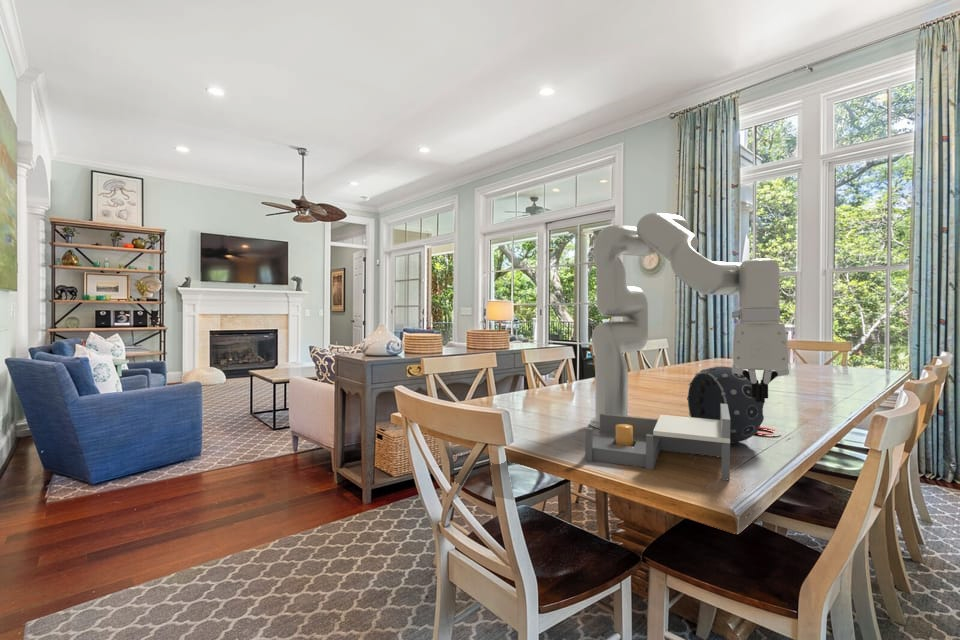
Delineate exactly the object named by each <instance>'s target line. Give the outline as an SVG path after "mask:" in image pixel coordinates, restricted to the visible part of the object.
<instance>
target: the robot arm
mask: <svg viewBox="0 0 960 640" xmlns="http://www.w3.org/2000/svg"><path fill="white" fill-rule="evenodd" d="M698 246H699V239H698V237H697V236H696V235H695V234H694V233H693V232H691V231H690V226H689V223H688V221H687V220H686V219H685V218H684V217H682V216H680V215H677V214H673V213H664V212H663V213H662V212H649V213H647V214H645V215H644V216H642V217H641V218H640V219H639V221H638V222H637V224H636V226H635V225H634V226H633V225H627V224H626V225H625V224H624V225H623V224H613V225H609V226H605V227H604V228H603V229H602V230H601V231H599V233H598V234H597V236H596V238H595V240H594V245H593V257H594V263H595V271H596V308H597V311H598V313H599V314H600V315H601V316H603V317H608V318H622V320H621V321H619V320H617V321H616V320H615V321H604V322H601V323H598V324H597V325H596V326H595V327H594V328H593V330H592V333H591V343H592V347H593V352H594V362H595V364H594V365H595V368H594V369H595V370H594V371H595V372H594V373H595V376H594V377H595V378H594V379H595V384H594V385H595V391H594V392H595V400H594V401H595V403H594V404H595V411H594V412H595V415H594V416H595V417H594V418H591V419H590V421H589V424H590V426H591V427H592V428H596V429H599V430H600V414H609V415H619V416H629V368H628V362H627V361H626V359H625V357H624V354H623V353H634V352H639V351H641V350H643V349H644V348H645V346H646V345H647V343H648V337H649V311H648V310H649V305H648V304H649V303H648V298H647V295H646V293H645V292H644V290H643V289H641V288H640V287H637V286H636V285H635V286H634V285H627V281H626V278H627V277H626V276H627V274H626V272H627V271H626V268H625V265H624V263H623V261H622V259H621V258H620V257H621V256H632V257H633V256H637V257H645V256H646V257H647V256H651V255H654V254H658V253H659V254H660V256H663V258H666V259H667V260H668V261H669V262H670V266H671V269H672V271H673V273H674V275H675V276H676V277H677V278H678V279H679V280H680V281H681V282H683V283H684V284H686V285H687V286H688V287H689V288H691V289H692V290H694V291H696V292H698V293H700V294H703V295H706V296H707V295H708V296H713V295H714V296H719V295H720V296H737V295H738V306H739V307H738V308H739V309H738V310H736V311H732V312H731V319H737V320H739V323H737V322H736V323H735V325H734V332H733V340H732V366H731V368H732V372H733V373H735V374H739V375H743V376H745V377H746V378H747V379H748V380H749V381H750V382H751V383H752V398H755V401H756V402H760V401H761V402H762V403H764V404H765V403H766V399H769V385H770V383H771V382H772V381H774V380H775V379H776V378H777V377H783V376H784V377H785V376H788V375H789V374H790V369H789V347H788V345H789V344H788V335H787V331H786V325H785V323H784V322H780V319H781V317H780V314H781V312H780V265H779V262H778V260H777V259H773V258H755V259H753V258H752V259H748V260H743V261H742V262H727V261H715V260H714V261H712V260H711V259H708V258H706V257H705V256H703V254H700V253H699V252H698V251H697V249H698ZM756 371H763V373H762V378H761V379H760V383H759V379H757V373H756Z"/></svg>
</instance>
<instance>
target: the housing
mask: <svg viewBox="0 0 960 640" xmlns="http://www.w3.org/2000/svg"><path fill="white" fill-rule="evenodd" d="M658 419H659V418H650V417H639V416H629V415H628V416H619V415H609V414H600V429H599V432H598V433H597V434H596V435H595V436H594V427H586V428H585V429H584V430H585V439H584V440H585V443H584V444H585V451H584V452H585V454H584V455H585V458H584V459H585V461H586V462H590V463H591V462H593V461H595V462H603V463H609V464H610V463H611V464H617V465H622V464H623V465H624V466H630V465H631V467H637V466H638V467H639V468H644V467H645V470H648V471H654V469H655V466H656V463H657V460H658V457H659V454H660V451H662V450H663V451H664V452H672V453H679V452H680V453H679V454H687V453H690V454H689V455H695V454H701V455H700V456H704V455H709V456H708V457H712V456H719V457H718V458H720V457H722V458H721V480H722V479H728V480H730V481H731V478H730V477H731V461H730V460H731V443H721V442H711V441H702V440H693V439H684V438H674V437H665V436H656V435H653V430H654V428H655V426H656V423H657V421H658ZM618 424H627V425H631V426H633V447H632V446H623V445H616V425H618ZM623 465H622V466H623ZM638 467H637V468H638Z"/></svg>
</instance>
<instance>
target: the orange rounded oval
mask: <svg viewBox="0 0 960 640" xmlns="http://www.w3.org/2000/svg"><path fill="white" fill-rule="evenodd" d="M616 445H623V446H632V447H633V426H631V425H627V424H618V425H616Z"/></svg>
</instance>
